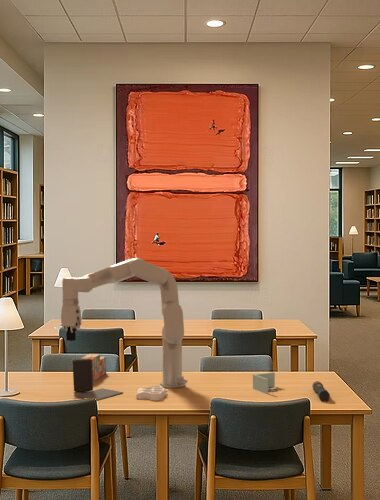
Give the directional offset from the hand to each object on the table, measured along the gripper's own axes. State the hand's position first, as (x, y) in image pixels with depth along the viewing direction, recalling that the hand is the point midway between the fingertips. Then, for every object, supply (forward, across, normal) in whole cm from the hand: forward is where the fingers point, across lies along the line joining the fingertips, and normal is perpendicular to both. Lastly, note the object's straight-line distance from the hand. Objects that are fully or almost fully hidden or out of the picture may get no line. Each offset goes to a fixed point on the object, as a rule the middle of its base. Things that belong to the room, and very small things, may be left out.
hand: (71, 340), depth 362 cm
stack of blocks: (+25, +11, -26) cm, 38 cm away
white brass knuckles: (+25, -40, -14) cm, 49 cm away
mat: (+24, -19, 0) cm, 31 cm away
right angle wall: (+25, -78, -57) cm, 100 cm away
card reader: (+24, -8, 0) cm, 25 cm away
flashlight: (+25, -103, -61) cm, 122 cm away
